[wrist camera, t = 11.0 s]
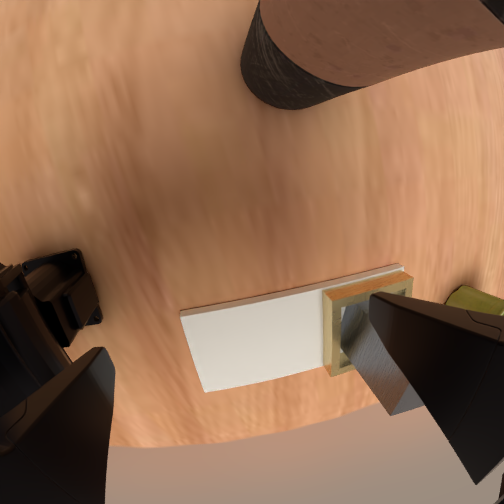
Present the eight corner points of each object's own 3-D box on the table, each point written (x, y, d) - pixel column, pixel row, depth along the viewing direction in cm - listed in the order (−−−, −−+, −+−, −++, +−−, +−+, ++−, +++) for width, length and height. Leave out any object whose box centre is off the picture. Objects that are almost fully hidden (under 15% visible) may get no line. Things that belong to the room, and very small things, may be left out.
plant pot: (456, 340, 31) (495, 371, 23) (419, 338, 28) (463, 379, 20) (484, 279, 28) (528, 304, 20) (451, 266, 26) (506, 296, 18)
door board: (204, 385, 25) (204, 392, 24) (180, 310, 22) (179, 316, 21) (390, 335, 27) (395, 340, 26) (398, 263, 24) (404, 266, 23)
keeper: (323, 364, 25) (330, 377, 23) (322, 290, 23) (332, 301, 21) (392, 340, 26) (402, 350, 24) (400, 269, 23) (413, 277, 22)
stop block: (335, 340, 24) (390, 416, 15) (348, 296, 23) (418, 365, 14) (373, 338, 25) (432, 402, 16) (388, 297, 24) (458, 355, 15)
